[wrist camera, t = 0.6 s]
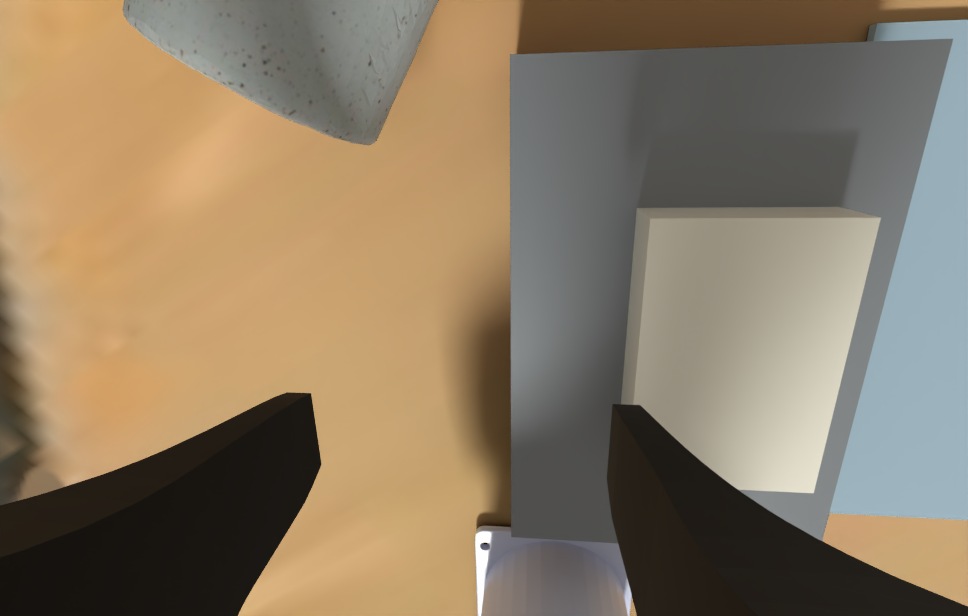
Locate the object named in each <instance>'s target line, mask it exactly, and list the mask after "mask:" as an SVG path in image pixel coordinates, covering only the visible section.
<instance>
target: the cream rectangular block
mask: <svg viewBox="0 0 968 616" xmlns="http://www.w3.org/2000/svg"><path fill="white" fill-rule="evenodd" d="M880 220H881V218H880V217H876V216H872V215H869V214H865V213H861V212H857V211H853V210H849V209H845V208H841V207H721V208H637V212H636V224H635V236H634V249H633V261H632V273H631V285H630V298H629V310H628V322H627V335H626V347H625V359H624V372H623V384H622V396H621V404H627V405H640V406H642V407H643V408H644V409H645V410H646V411H647V412H648V413H649V414H650V415H651V416H652V417H653V418H654V419H655V420H656V421H657V422H658V423H659V424H660V425H661V426H663V427H664V428H665V429H666V430H667V431H668V432H669V433H670V434H671V435H672V436H673V437H674V438H675V439H676V440H677V441H679V442H680V443H681V444H682V445H683V446H684V447H685V448H686V449H687V450H689V451H690V452H691V453H692V454H693V455H694V456H696V457H697V458H698V459H699V460H700V461H701V462H703V463H704V464H705V465H706V466H708V467H709V468H710V469H711V470H713V471H714V472H715V473H716V474H718V475H719V476H720V477H722V478H723V479H724V480H725V481H727V482H728V483H729V484H731V485H732V486H733V487H735V488H736V489H738V490H754V491H775V492H796V493H814V490H815V486H816V482H817V478H818V473H819V469H820V465H821V461H822V457H823V453H824V449H825V445H826V441H827V437H828V433H829V428H830V424H831V420H832V416H833V412H834V408H835V404H836V400H837V396H838V392H839V388H840V384H841V379H842V375H843V371H844V367H845V363H846V359H847V355H848V351H849V347H850V343H851V339H852V334H853V330H854V326H855V322H856V318H857V314H858V310H859V306H860V302H861V298H862V294H863V289H864V285H865V281H866V277H867V273H868V269H869V265H870V261H871V257H872V253H873V249H874V245H875V240H876V236H877V232H878V228H879V224H880Z"/></svg>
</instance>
